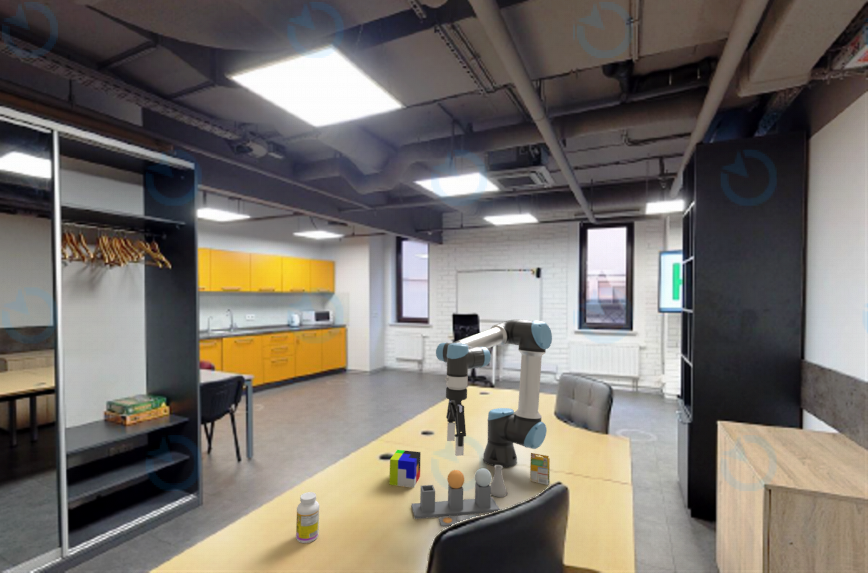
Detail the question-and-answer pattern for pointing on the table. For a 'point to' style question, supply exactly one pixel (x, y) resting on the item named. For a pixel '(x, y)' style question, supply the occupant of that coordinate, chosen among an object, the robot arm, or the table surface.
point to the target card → (454, 519)
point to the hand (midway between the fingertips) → (454, 447)
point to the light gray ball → (483, 477)
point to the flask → (498, 483)
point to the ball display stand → (453, 503)
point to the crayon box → (539, 468)
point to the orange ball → (455, 479)
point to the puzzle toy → (405, 468)
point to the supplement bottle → (307, 518)
